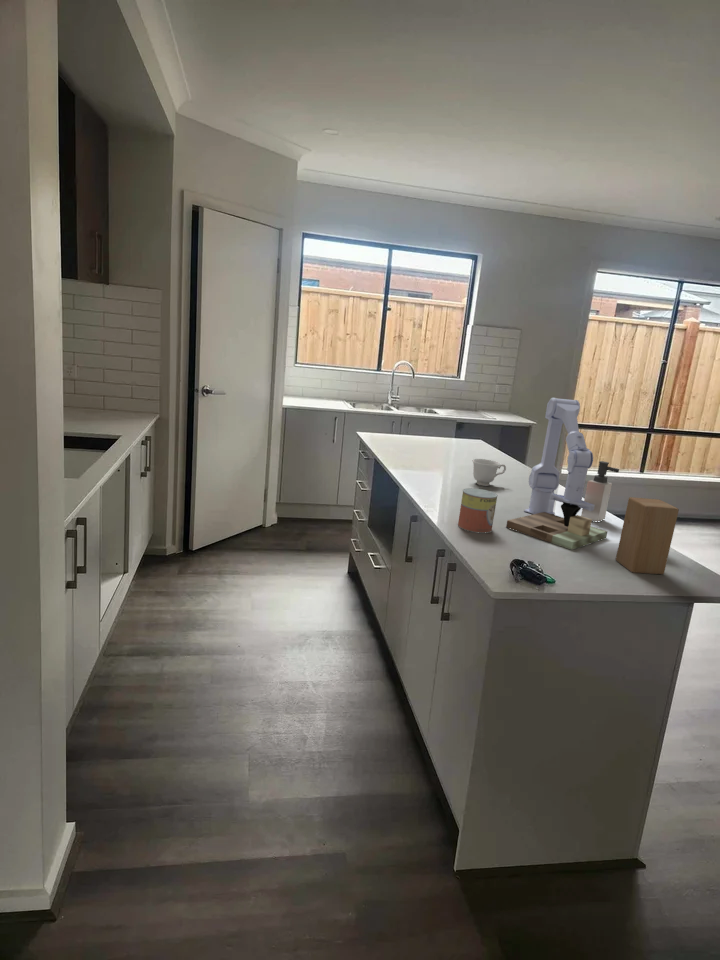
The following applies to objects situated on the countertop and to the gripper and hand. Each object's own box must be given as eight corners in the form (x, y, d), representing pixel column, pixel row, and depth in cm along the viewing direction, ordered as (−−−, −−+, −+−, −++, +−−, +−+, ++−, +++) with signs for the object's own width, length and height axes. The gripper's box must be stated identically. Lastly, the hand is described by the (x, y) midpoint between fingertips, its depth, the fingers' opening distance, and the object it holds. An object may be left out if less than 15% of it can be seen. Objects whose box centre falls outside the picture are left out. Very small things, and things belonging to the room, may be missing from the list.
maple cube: (575, 529, 207) (577, 515, 206) (589, 533, 203) (591, 519, 202) (567, 531, 204) (570, 516, 202) (581, 536, 200) (584, 521, 199)
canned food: (484, 535, 198) (490, 499, 195) (452, 526, 203) (457, 491, 201) (496, 528, 207) (502, 493, 205) (465, 520, 213) (470, 486, 210)
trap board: (542, 518, 226) (544, 511, 225) (606, 538, 209) (607, 531, 209) (506, 527, 209) (507, 520, 209) (571, 549, 193) (573, 542, 192)
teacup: (505, 489, 266) (509, 467, 263) (471, 486, 265) (474, 463, 263) (500, 483, 277) (503, 461, 275) (467, 479, 277) (470, 457, 275)
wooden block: (614, 560, 188) (628, 496, 183) (646, 562, 189) (660, 499, 184) (631, 572, 178) (646, 506, 173) (664, 575, 179) (679, 508, 174)
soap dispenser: (603, 524, 226) (615, 466, 221) (580, 518, 232) (591, 460, 227) (610, 522, 231) (622, 464, 226) (587, 515, 237) (598, 459, 232)
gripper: (548, 482, 205) (541, 521, 209) (590, 493, 195) (581, 534, 199) (559, 480, 210) (552, 518, 213) (600, 491, 200) (592, 531, 203)
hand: (567, 525), depth 206 cm, fingers closed
